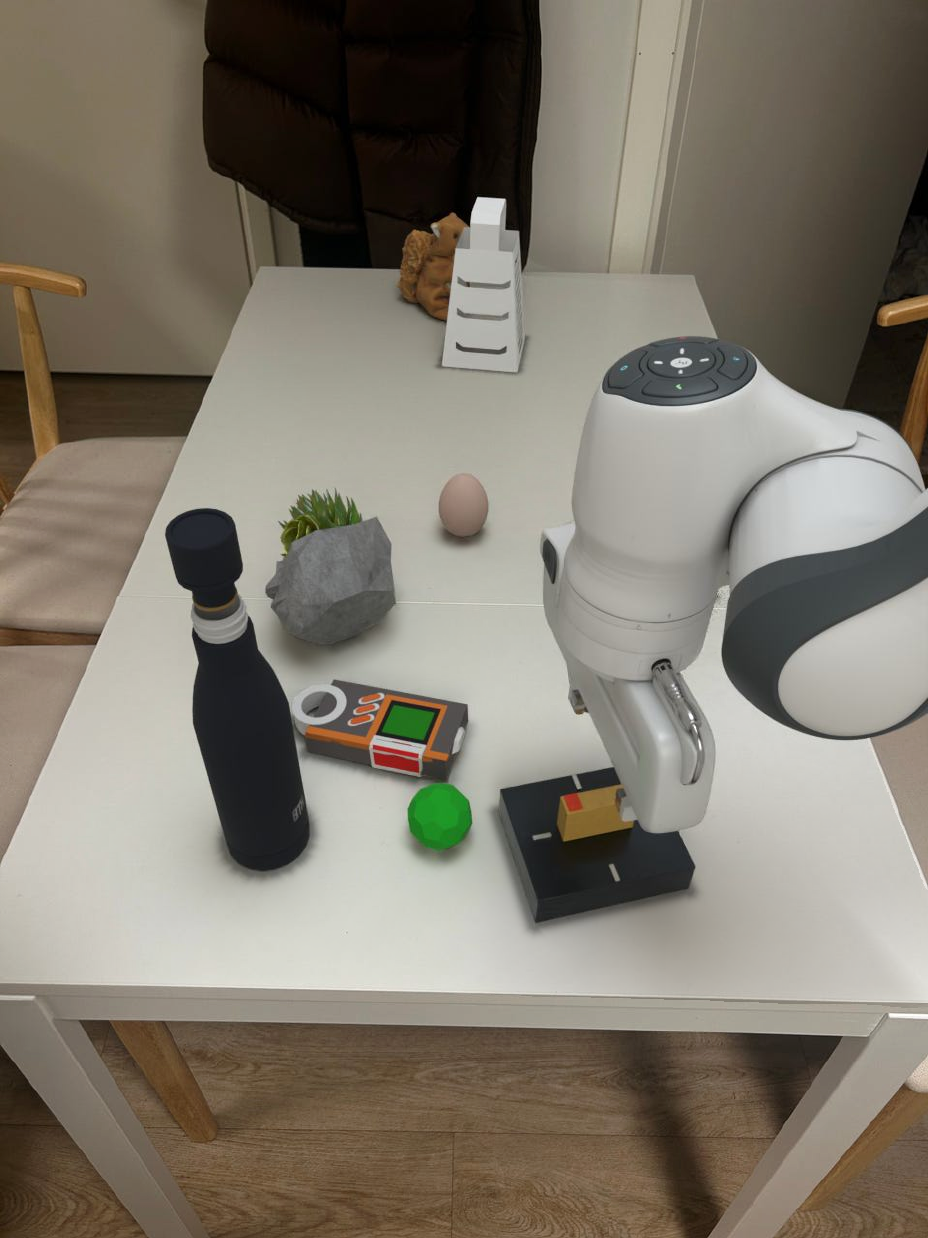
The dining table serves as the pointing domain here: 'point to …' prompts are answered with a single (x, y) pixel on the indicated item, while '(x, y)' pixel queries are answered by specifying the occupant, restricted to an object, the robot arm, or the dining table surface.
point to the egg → (463, 505)
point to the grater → (486, 292)
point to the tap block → (586, 852)
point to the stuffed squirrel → (431, 265)
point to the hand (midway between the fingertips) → (604, 756)
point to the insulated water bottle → (238, 701)
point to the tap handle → (589, 814)
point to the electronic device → (382, 727)
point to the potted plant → (331, 571)
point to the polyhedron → (439, 816)
